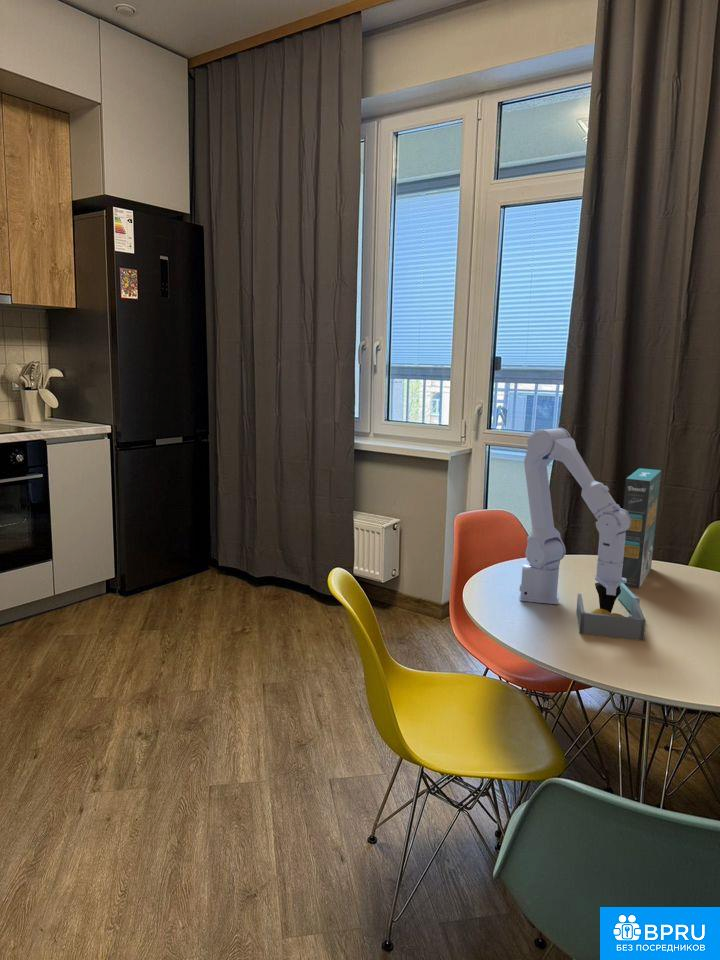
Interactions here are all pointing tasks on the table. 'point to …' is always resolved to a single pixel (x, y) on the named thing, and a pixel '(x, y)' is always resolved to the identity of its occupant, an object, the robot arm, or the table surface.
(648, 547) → the cake mix box
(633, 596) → the teal flat bar
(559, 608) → the table surface
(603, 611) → the bread roll
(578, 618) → the grey open box
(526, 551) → the robot arm
